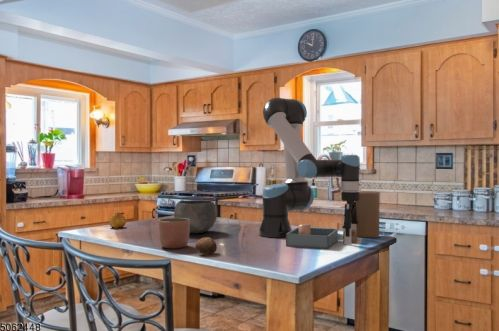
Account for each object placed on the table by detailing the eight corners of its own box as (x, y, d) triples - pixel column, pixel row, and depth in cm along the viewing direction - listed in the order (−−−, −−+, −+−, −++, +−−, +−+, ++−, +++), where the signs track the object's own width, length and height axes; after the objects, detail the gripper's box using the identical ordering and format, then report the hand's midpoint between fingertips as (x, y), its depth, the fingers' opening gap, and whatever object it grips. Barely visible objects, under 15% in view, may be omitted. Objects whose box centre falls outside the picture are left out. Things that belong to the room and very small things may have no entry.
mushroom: (195, 242, 170) (200, 230, 167) (215, 250, 171) (220, 238, 168) (190, 256, 163) (196, 244, 160) (210, 264, 164) (216, 252, 161)
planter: (175, 251, 170) (175, 222, 170) (152, 248, 177) (151, 220, 177) (196, 245, 181) (196, 219, 180) (173, 243, 187) (173, 217, 187)
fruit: (122, 224, 225) (123, 210, 229) (106, 226, 225) (107, 211, 229) (126, 230, 232) (128, 216, 236) (111, 232, 232) (112, 218, 236)
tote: (286, 246, 179) (285, 233, 179) (298, 238, 197) (298, 227, 197) (328, 249, 173) (328, 236, 173) (337, 240, 191) (337, 229, 191)
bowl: (165, 234, 208) (165, 202, 208) (188, 228, 227) (187, 199, 227) (204, 237, 200) (204, 204, 200) (223, 230, 219) (223, 200, 219)
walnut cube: (343, 242, 187) (343, 230, 187) (345, 240, 191) (345, 229, 191) (355, 243, 185) (355, 231, 185) (357, 241, 190) (357, 229, 189)
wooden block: (379, 235, 205) (379, 191, 205) (378, 238, 196) (378, 193, 195) (357, 233, 208) (357, 191, 208) (355, 237, 199) (355, 192, 199)
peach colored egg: (297, 242, 185) (297, 225, 185) (300, 240, 190) (300, 223, 189) (308, 242, 183) (308, 225, 183) (312, 240, 188) (312, 224, 187)
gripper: (354, 193, 175) (355, 247, 175) (363, 189, 198) (363, 237, 198) (335, 193, 178) (336, 246, 178) (346, 189, 201) (346, 236, 201)
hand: (350, 241), depth 188 cm, fingers open, 13 cm apart
